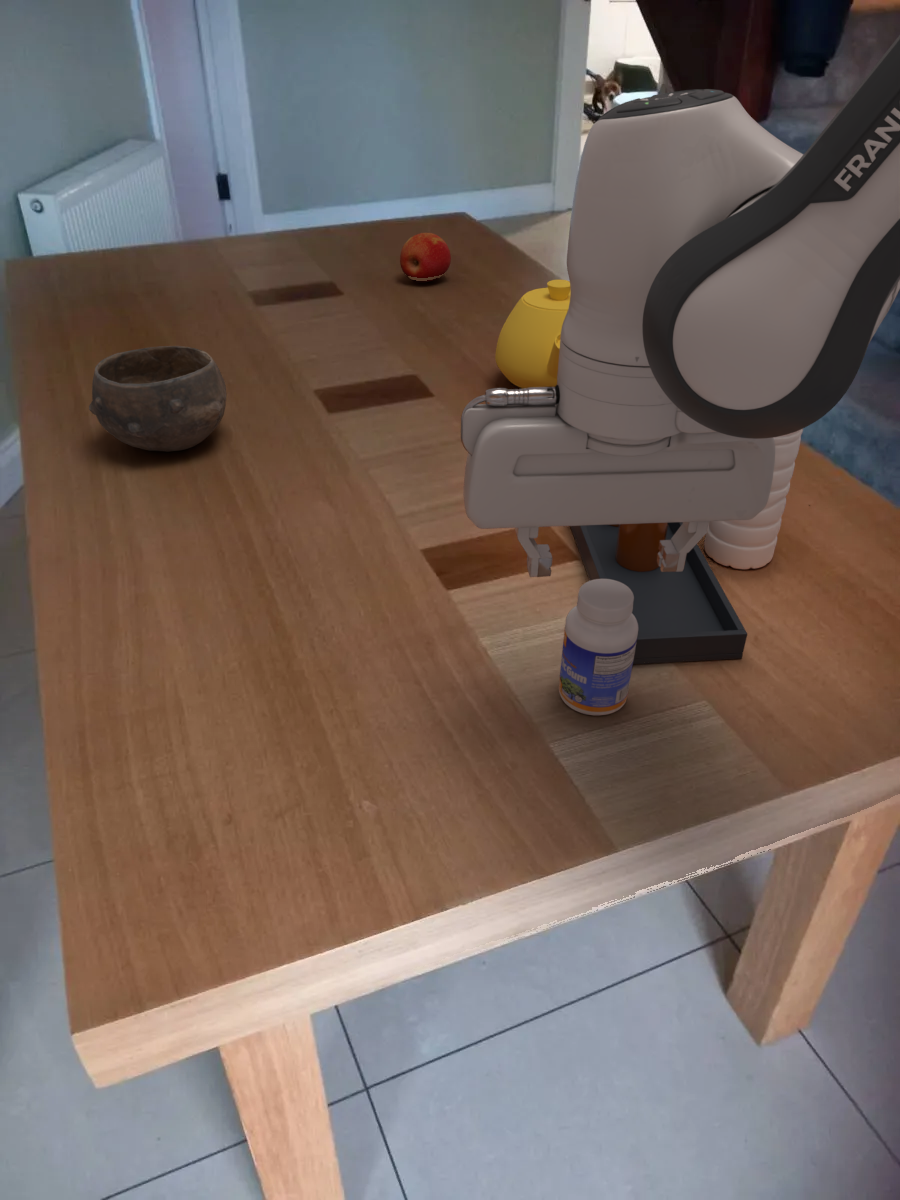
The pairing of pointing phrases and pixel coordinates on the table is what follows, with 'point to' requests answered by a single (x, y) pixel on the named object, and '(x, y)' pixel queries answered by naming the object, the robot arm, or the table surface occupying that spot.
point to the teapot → (534, 336)
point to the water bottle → (756, 517)
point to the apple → (425, 256)
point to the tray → (668, 602)
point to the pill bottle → (598, 648)
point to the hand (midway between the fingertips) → (604, 570)
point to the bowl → (159, 397)
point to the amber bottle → (639, 545)
